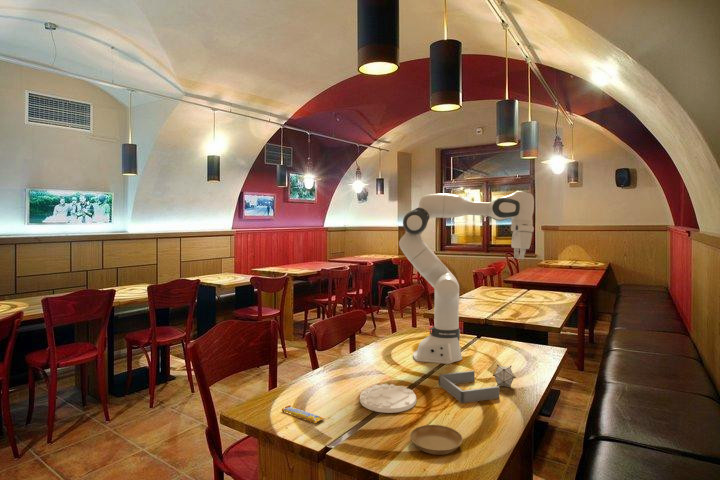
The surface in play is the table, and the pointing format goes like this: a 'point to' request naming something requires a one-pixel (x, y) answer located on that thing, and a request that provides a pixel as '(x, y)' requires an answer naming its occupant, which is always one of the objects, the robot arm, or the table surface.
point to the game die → (504, 376)
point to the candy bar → (302, 414)
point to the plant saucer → (436, 439)
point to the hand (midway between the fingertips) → (518, 258)
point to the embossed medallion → (388, 398)
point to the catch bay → (466, 395)
